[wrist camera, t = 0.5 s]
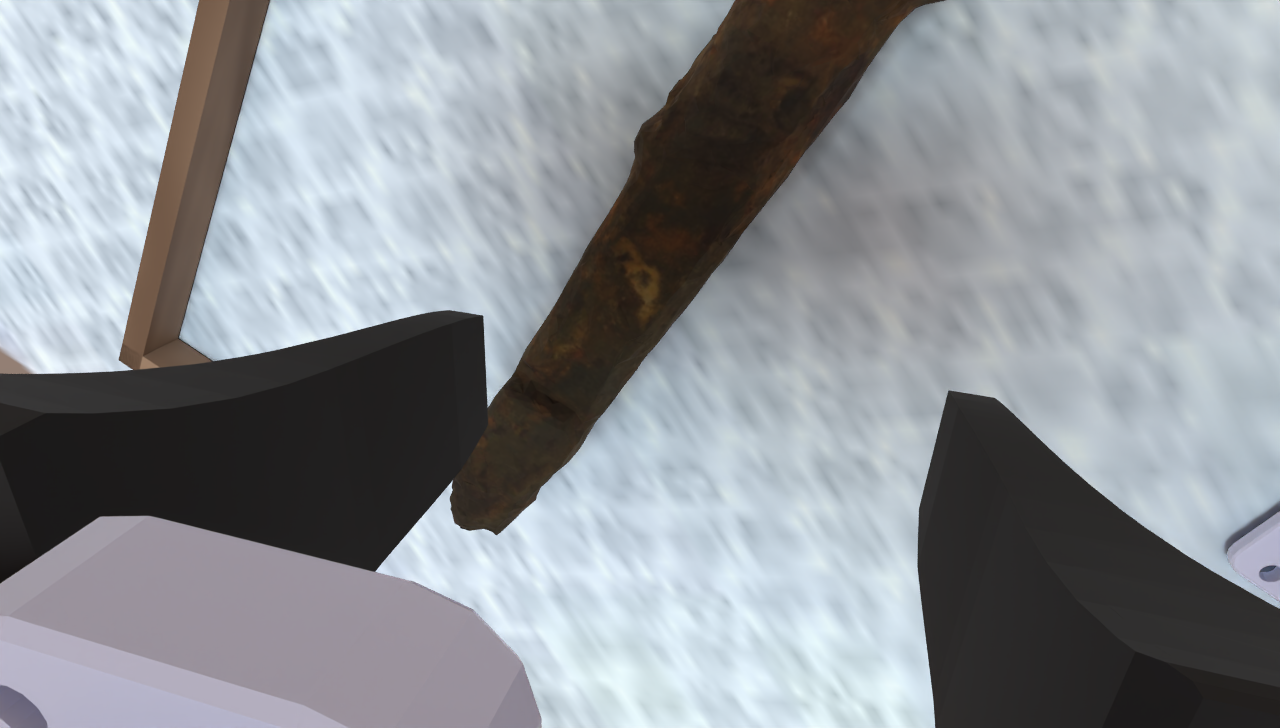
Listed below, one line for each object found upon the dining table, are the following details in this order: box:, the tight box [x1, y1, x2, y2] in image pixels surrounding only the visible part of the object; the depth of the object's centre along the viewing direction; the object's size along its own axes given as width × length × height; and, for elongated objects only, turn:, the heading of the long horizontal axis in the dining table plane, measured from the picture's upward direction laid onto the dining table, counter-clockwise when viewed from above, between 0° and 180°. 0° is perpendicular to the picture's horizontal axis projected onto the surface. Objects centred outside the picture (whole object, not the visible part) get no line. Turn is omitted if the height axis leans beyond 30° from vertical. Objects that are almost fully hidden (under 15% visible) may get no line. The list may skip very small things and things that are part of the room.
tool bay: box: [119, 0, 269, 370], centre depth 21 cm, size 10×27×2 cm, turn 150°
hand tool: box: [450, 0, 945, 535], centre depth 20 cm, size 19×4×5 cm, turn 146°
